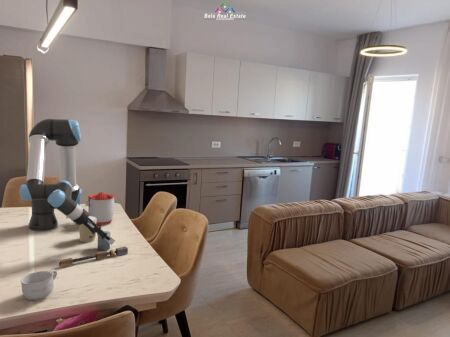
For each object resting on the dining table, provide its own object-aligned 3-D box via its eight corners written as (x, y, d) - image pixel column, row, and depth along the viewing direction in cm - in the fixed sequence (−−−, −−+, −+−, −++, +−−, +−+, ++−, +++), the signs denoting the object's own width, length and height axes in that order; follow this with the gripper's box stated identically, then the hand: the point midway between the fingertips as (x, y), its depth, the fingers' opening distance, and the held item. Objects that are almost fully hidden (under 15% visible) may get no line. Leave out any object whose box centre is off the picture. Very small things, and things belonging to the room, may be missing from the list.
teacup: (31, 307, 124) (30, 286, 123) (15, 297, 130) (14, 277, 129) (67, 291, 136) (66, 272, 135) (50, 283, 142) (50, 264, 140)
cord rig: (58, 266, 156) (58, 259, 156) (125, 251, 176) (125, 246, 176) (60, 268, 154) (59, 262, 154) (127, 253, 174) (127, 248, 173)
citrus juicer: (83, 220, 219) (83, 189, 216) (112, 217, 227) (112, 188, 224) (86, 228, 206) (86, 195, 203) (116, 225, 214) (116, 193, 210)
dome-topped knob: (95, 247, 179) (95, 232, 178) (107, 244, 183) (107, 230, 182) (99, 251, 174) (99, 236, 173) (112, 248, 178) (112, 234, 177)
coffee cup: (90, 243, 184) (90, 222, 182) (74, 241, 185) (74, 219, 183) (100, 237, 193) (100, 217, 191) (85, 235, 194) (84, 215, 192)
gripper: (66, 215, 173) (99, 240, 186) (78, 226, 159) (112, 252, 172) (77, 203, 176) (108, 229, 189) (89, 213, 161) (123, 240, 174)
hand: (110, 240), depth 180 cm, fingers closed on dome-topped knob, 6 cm apart
